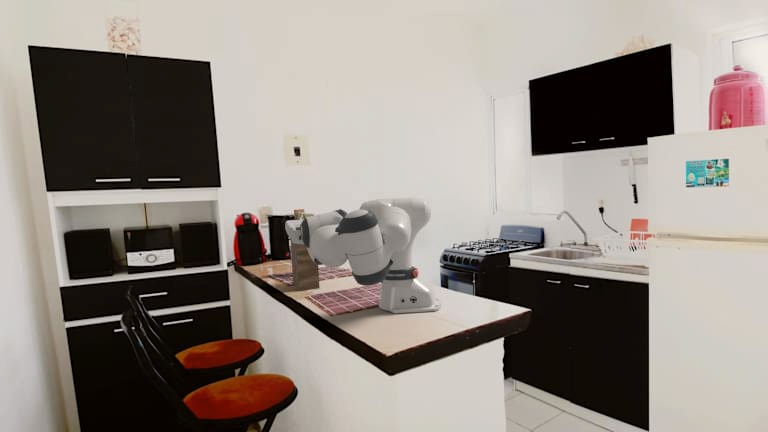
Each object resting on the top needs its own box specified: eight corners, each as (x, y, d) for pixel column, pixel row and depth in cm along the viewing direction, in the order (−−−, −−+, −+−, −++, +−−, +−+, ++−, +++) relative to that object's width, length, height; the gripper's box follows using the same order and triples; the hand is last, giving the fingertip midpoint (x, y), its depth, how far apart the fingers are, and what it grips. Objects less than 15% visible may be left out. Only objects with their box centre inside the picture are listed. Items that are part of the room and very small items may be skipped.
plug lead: (314, 220, 172) (313, 210, 171) (304, 221, 170) (304, 211, 170) (303, 217, 195) (302, 209, 194) (294, 218, 193) (293, 209, 193)
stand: (319, 288, 183) (316, 229, 181) (299, 291, 180) (295, 231, 178) (312, 281, 198) (308, 227, 196) (293, 283, 194) (289, 228, 193)
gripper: (340, 226, 166) (332, 208, 176) (288, 230, 158) (283, 211, 169) (339, 239, 169) (331, 220, 180) (288, 243, 161) (283, 224, 172)
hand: (307, 216), depth 174 cm, fingers closed on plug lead, 3 cm apart
